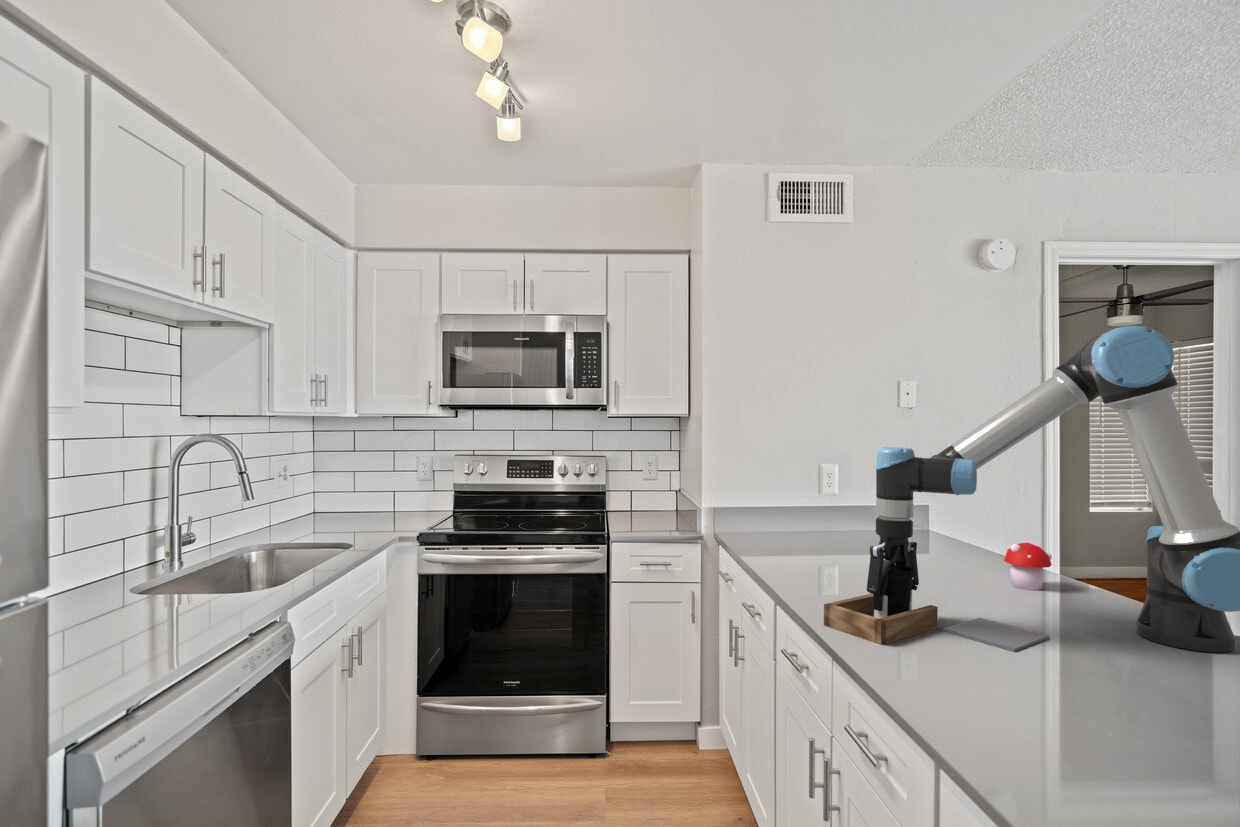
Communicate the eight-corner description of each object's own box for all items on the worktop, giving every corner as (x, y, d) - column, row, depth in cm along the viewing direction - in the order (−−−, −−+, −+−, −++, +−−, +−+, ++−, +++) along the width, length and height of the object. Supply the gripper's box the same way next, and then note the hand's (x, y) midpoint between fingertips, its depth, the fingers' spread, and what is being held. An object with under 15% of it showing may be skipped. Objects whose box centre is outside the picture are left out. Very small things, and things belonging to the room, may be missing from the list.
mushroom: (1037, 582, 176) (1038, 539, 176) (1061, 593, 165) (1061, 547, 166) (996, 581, 177) (997, 538, 177) (1017, 592, 166) (1017, 546, 167)
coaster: (1048, 638, 131) (1048, 635, 131) (1014, 651, 124) (1014, 648, 124) (979, 620, 143) (979, 617, 143) (943, 631, 135) (943, 628, 135)
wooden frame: (937, 627, 138) (937, 606, 138) (881, 644, 127) (881, 621, 127) (879, 610, 149) (879, 591, 149) (823, 625, 139) (823, 604, 139)
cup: (916, 629, 136) (917, 573, 136) (878, 627, 138) (879, 571, 138) (908, 618, 144) (908, 565, 144) (872, 616, 145) (872, 563, 145)
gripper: (906, 512, 150) (905, 609, 150) (849, 519, 138) (847, 624, 138) (937, 516, 144) (936, 618, 144) (879, 524, 132) (878, 635, 132)
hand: (892, 621), depth 141 cm, fingers open, 8 cm apart
